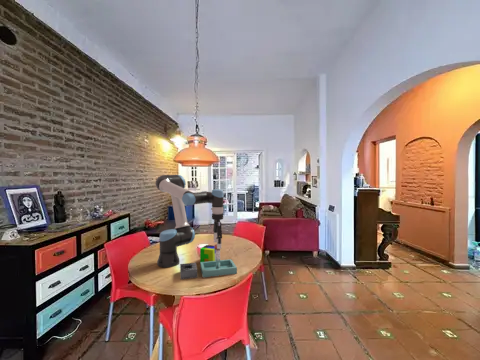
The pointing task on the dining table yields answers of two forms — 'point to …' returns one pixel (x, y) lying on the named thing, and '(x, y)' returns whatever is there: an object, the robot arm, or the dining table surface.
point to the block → (188, 270)
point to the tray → (225, 269)
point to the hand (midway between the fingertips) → (217, 245)
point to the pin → (217, 257)
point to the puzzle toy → (207, 253)
